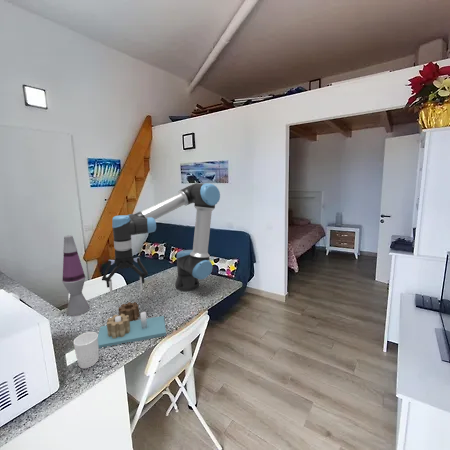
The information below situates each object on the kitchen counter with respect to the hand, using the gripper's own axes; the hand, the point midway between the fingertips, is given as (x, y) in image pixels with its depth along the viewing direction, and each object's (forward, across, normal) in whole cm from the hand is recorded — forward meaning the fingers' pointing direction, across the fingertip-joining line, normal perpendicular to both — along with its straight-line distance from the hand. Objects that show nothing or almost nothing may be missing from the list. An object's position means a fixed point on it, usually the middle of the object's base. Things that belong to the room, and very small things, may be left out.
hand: (126, 291), depth 120 cm
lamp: (+14, +26, -16) cm, 34 cm away
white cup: (+15, +13, +27) cm, 33 cm away
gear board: (+14, -2, +13) cm, 19 cm away
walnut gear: (+14, 0, 0) cm, 14 cm away
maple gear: (+13, +3, +13) cm, 18 cm away
